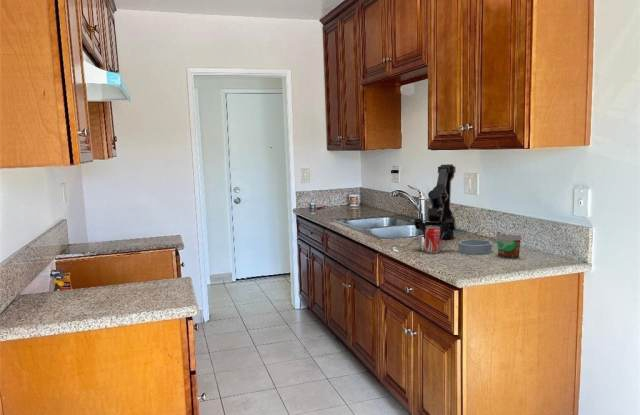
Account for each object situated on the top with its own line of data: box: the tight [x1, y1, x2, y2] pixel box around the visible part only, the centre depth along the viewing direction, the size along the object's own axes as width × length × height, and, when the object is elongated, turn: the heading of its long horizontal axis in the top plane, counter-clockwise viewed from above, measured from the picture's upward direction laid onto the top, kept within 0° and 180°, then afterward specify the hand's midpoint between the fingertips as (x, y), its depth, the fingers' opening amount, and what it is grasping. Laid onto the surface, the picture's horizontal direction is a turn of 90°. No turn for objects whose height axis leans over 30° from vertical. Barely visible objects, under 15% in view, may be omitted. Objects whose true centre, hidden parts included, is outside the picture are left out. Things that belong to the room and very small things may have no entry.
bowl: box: [457, 238, 493, 256], centre depth 227 cm, size 15×15×4 cm
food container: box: [494, 231, 523, 259], centre depth 214 cm, size 12×6×10 cm, turn 27°
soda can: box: [424, 226, 442, 254], centre depth 228 cm, size 7×7×12 cm
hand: (432, 238), depth 227 cm, fingers closed on soda can, 7 cm apart
